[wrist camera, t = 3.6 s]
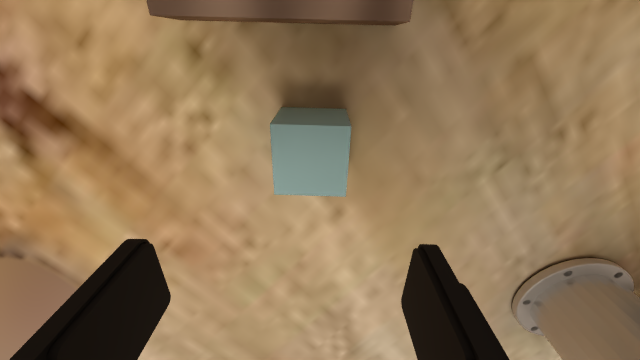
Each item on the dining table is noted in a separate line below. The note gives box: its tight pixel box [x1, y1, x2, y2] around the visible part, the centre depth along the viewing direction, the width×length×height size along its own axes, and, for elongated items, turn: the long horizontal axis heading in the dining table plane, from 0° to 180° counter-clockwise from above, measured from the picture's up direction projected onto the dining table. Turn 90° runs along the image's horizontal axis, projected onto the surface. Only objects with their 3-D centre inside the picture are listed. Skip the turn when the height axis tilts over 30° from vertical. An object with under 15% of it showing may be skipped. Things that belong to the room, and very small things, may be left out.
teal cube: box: [270, 107, 351, 197], centre depth 22 cm, size 6×6×6 cm
